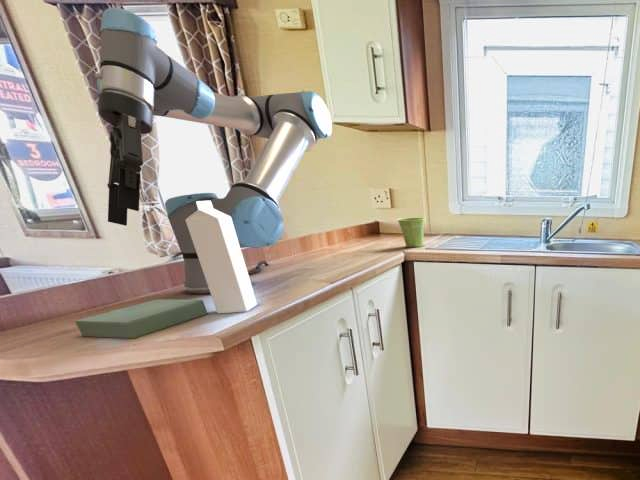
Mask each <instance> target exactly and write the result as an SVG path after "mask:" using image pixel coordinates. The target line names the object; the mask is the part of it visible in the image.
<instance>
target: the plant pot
mask: <svg viewBox="0 0 640 480" xmlns="http://www.w3.org/2000/svg"><path fill="white" fill-rule="evenodd" d="M425 220H427V219H426V217H405V218H404V217H403V218H397V219H396V221H397V222H398V225H399V227H400V231H401V233H402V236H403V239H404V243H405V246H406V247H407V248H413V247H414V248H419V247H420V248H421V247H423V246H424V231H425V229H424V227H425Z"/></svg>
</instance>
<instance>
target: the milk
mask: <svg viewBox="0 0 640 480" xmlns="http://www.w3.org/2000/svg"><path fill="white" fill-rule="evenodd" d="M196 205H197V208H198V210H197V211H196V212H195V213H193V214H192V215H191V216H189V217H188V218H187V219H186V223H187V226H188V229H189V232H190V235H191V238H192V241H193V244H194V247H195V249H196V252H197V255H198V258H199V261H200V264H201V267H202V270H203V273H204V276H205V278H206V281H207V284H208V287H209V290H210V293H209V294H210V296H211V299H212V302H213V305H214V308H215V311H216V313H217V314H227V313H228V314H230V313H243V312H248V311H250V310H251V309H253V308H255V307H256V306H258V302H257V299H256V295H255V292H254V287H253V286H252V284H251V282H252V281H251V282H250V279H251V277H250V275H248V272H249V271H248V269H247V265H246V262H245V258H244V254H243V252H242V249H241V248H242V247H240V245H239V242H238V238H237V235H236V232H235V228H234V225H233V222H232V218H231V216H229V215H227V214H225V213H222V212H220V211H218V210H216V209H214V208H213V206H212V203H211V201H210V200H209V201H196ZM249 277H250V278H249Z"/></svg>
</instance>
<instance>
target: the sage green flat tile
mask: <svg viewBox="0 0 640 480" xmlns="http://www.w3.org/2000/svg"><path fill="white" fill-rule="evenodd" d="M205 315H208V310H207V308H206V305H205V302H204V300H203V299H171V298H170V299H168V298H167V299H164V298H161V299H160V298H157V299H153V300H149V301H145V302H142V303H137V304H134V305H133V304H132V305H130V306H126V307H123V308H118V309H115V310H111V311H107V312H102V313H100V314H99V313H98V314H96V315H92V316H88V317H84V318H81V319H77V320H74V322H75V324H76V326H77V328H78V330H79V332H80V334H81V336H82V337H92V338H93V337H94V338H116V339H117V338H118V339H119V338H120V339H136V338H139V337H142V336H145V335H148V334H151V333H154V332H157V331H160V330H163V329H167V328H170V327H173V326H175V325H178V324H181V323H185V322H187V321H190V320H194V319H196V318H199V317H202V316H205Z"/></svg>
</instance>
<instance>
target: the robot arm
mask: <svg viewBox="0 0 640 480" xmlns="http://www.w3.org/2000/svg"><path fill="white" fill-rule="evenodd" d="M100 23H101V24H100V29H99V33H100V51H99V52H100V53H99V54H100V57H99V64H100V65H99V69H100V70H99V71H95V73H94V77H95V78H96V79H97V80H96V88H97V91H98V93H99V94H98V103H97V104H98V107H97V112H98V114H99V116H100V117H101V118H102V120H104V121H105V122H106V123H108V124H110V125H112V127H111V130H110V132H109V140H110V146H109V154H110V161H109V171H108V183H107V185H106V186H107V189H108V202H107V203H108V205H107V206H108V207H107V223H113V224H117V225H121V226H125V227H127V226H128V210H132V211H135V212H139V211H140V190H141V172H142V166H143V165H144V161H143V158H144V157H143V144H142V135H147V134H150V133H152V131H153V125H154V123H153V122H154V116H155V117H156V116H157V117H162V118H170V119H175V120H181V121H187V122H193V123H200V124H204V125H206V124H207V125H210V126H215V127H216V126H217V127H223V128H229V129H233V130H234V129H235V130H237V131H238V132H239V133H241V134H243V135H246V136H252V137H258V138H263V139H266V142H265V144H264V146H263V148H262V149H261V151H260V152H259V154H258V156H257V158H256V159H255V161H254V163H253V165H252V167H251V168H250V170H249V171H248V174H247V175H246V177H245V178H244V180H243V181H238V182H237V181H236V182H235V183H233V184H232V185H231V187H230V189H229V191H228V192H227V194H226V195H225V196H224V197H223V198H221V197H220V198H219V197H218V195H217V194H216V193H214V192H200V193H190V194H183V195H178V196H174V197H173V196H172V197H170V198H168V199H166V201H165V202H164V207H165V210H166V214H167V215H166V216H167V219H168V222H169V223H170V227H171V229H172V232H173V234H174V237H175V240H176V243H177V245H178V247H179V251H180V253H181V256H182V259H183V261H184V280H185V281H184V289H185V291H186V293H187V294H195V295H196V294H197V295H200V294H201V295H202V294H204V295H205V294H211V293H210V290H209V287H208V284H207V281H206V278H205V276H204V273H203V270H202V267H201V264H200V261H199V258H198V255H197V252H196V249H195V247H194V244H193V241H192V238H191V235H190V232H189V229H188V226H187V223H186V219H187V218H188V217H189V216H191V215H192V214H193V213H195V212H196V211H197V210H198V208H197V205H196V201H209V200H210V201H211V203H212V206H213V208H214V209H216V210H218V211H220V212H222V213H225V214H227V215H229V216H231V218H232V222H233V225H234V228H235V232H236V235H237V238H238V242H239V245H240V248H250V249H260V248H266V247H271V246H273V245H275V244H276V243H278V241H279V240H280V239H281V237H282V236H283V233H284V224H283V223H282V222H284V217H283V214H282V211H281V207H280V204H279V203H280V200H281V199H282V196H283V195H284V192H285V190H286V189H287V187H288V185H289V183H290V181H291V179H292V177H293V175H294V173H295V171H296V169H297V168H298V165H299V164H300V162H301V160H302V158H303V156H304V154H305V153H308V152H311V151H312V150H313V149H314V148H315V146H316V144H317V143H318V141H319V140H320V139H323V140H325V139H328V138H329V137H331V135H332V132H333V124H332V118H331V115H330V112H329V109H328V107H327V105H326V103H325V101H324V100H323V99H322V97H321V96H320V95H319V94H318V93H316V92H314V91H311V90H310V91H308V90H307V91H305V90H302V91H298V92H297V91H296V92H286V93H276V94H265V95H258V96H248V95H247V96H246V95H243V94H238V95H235V96H230V95H225V94H222V93H219V92H214V91H213V90H212V89H211V88H210V86H208V85H207V84H206V83H204V82H203V81H202V80H201V79H200V78H199V77H198V76H197V75H195V74H194V73H192V72H191V71H190V70H188V69H187V68H185V67H184V66H183V65H181V64H180V63H179V62H178V61H176V60H175V59H173V58H172V57H171V56H169V55H168V54H166V52H165V51H164V50H162V49H161V48H160V47H159V46H157V43H158V41H157V35H156V31H155V30H154V28H153V27H152V25H151V24H150V23H149V22H148V21H146V19H144V18H142V17H141V16H139V15H138V14H136V13H134V12H132V11H130V10H127V9H125V8H120V7H108V8H105V10H103V13H102V18H101V22H100ZM262 265H265V267H267V266H270V265H269V263H268V262H267V261H265V260H261V261H260V262H258V264H257V265H256V266H255V269H253V270H249V271H247V272H248V275H249V278H250V282H251V285H252V284H253V281H252V279H251V277H250V276H251V275H254V274H257V273H260V272H262V268H261V267H262Z"/></svg>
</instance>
